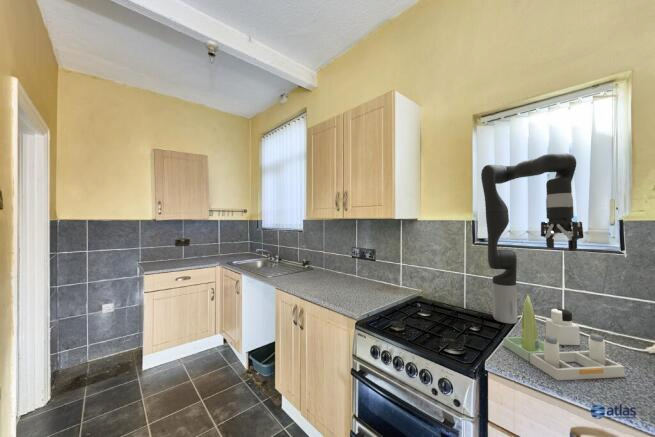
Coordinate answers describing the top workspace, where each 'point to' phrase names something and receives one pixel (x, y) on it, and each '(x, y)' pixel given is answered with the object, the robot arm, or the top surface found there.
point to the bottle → (551, 351)
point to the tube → (529, 328)
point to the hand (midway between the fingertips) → (561, 249)
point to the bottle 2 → (597, 349)
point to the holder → (571, 373)
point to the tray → (516, 347)
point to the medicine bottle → (562, 327)
